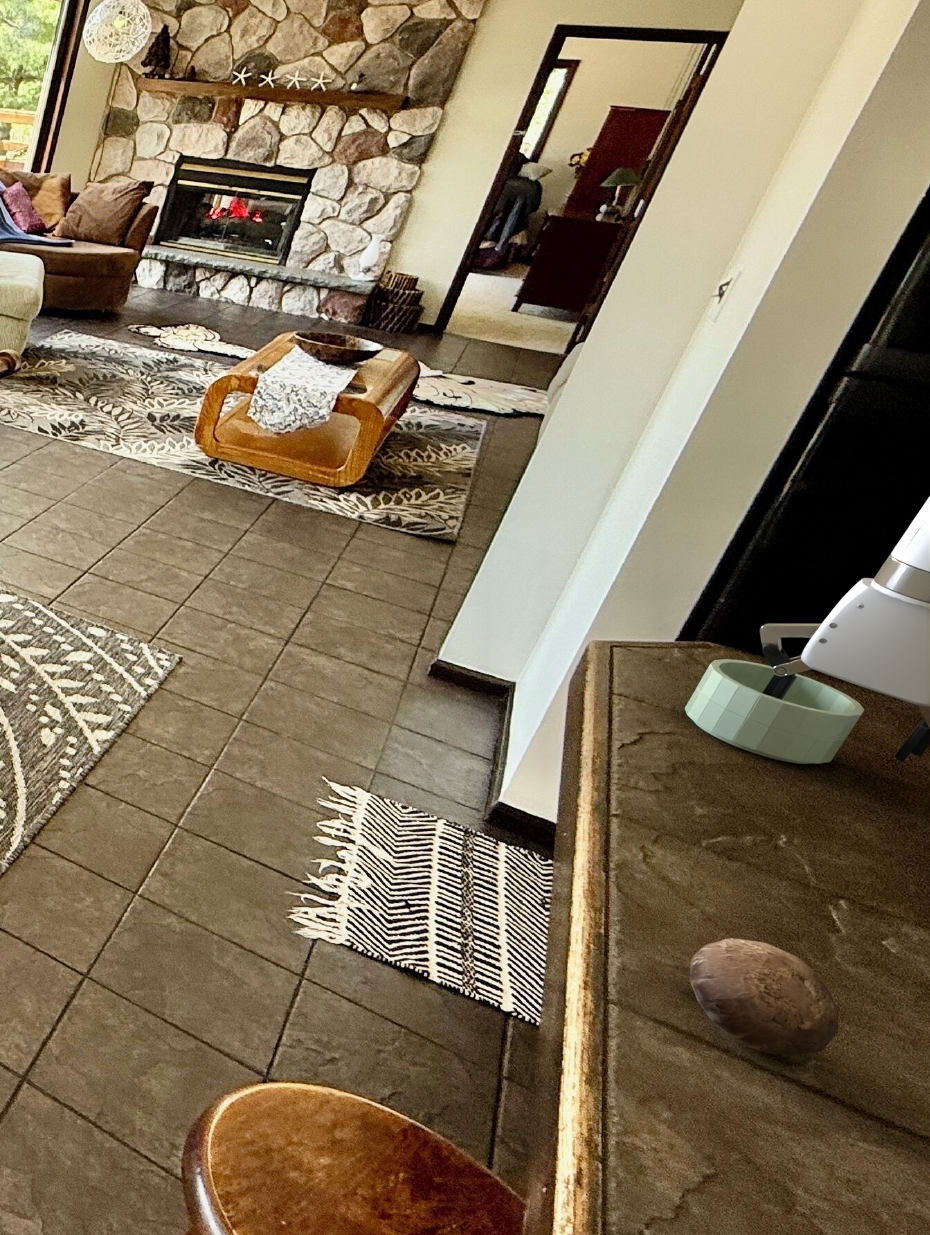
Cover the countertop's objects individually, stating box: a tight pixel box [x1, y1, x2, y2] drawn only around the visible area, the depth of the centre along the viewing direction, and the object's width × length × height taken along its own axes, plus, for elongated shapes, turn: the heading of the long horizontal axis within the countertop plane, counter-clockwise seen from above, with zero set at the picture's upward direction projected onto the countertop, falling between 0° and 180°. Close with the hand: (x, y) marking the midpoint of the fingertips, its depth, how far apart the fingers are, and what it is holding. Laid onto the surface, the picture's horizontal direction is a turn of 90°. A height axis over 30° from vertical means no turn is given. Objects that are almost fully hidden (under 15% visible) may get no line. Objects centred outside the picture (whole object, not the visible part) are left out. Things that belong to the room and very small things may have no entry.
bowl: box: [684, 658, 865, 765], centre depth 111 cm, size 11×11×6 cm
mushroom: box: [689, 937, 839, 1057], centre depth 73 cm, size 8×8×6 cm
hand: (832, 731), depth 108 cm, fingers open, 9 cm apart
